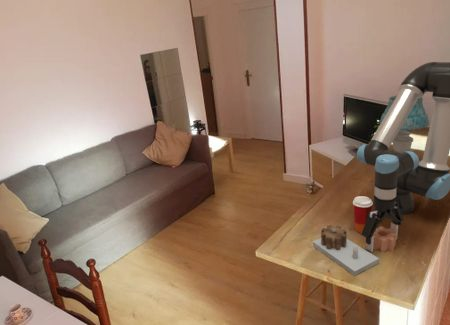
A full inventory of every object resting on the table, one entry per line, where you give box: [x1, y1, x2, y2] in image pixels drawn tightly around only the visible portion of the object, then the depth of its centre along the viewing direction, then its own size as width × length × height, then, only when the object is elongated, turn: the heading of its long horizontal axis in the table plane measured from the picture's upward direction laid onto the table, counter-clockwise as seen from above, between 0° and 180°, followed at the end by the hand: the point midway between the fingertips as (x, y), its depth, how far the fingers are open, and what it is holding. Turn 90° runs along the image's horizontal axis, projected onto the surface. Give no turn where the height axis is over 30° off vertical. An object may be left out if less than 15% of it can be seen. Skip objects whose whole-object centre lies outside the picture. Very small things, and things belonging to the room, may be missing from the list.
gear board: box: [312, 237, 380, 277], centre depth 131 cm, size 12×22×7 cm, turn 27°
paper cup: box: [352, 195, 374, 233], centre depth 143 cm, size 8×8×14 cm
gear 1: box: [320, 225, 348, 250], centre depth 135 cm, size 10×10×6 cm
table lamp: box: [379, 95, 430, 153], centre depth 190 cm, size 24×24×40 cm
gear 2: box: [373, 225, 398, 253], centre depth 134 cm, size 10×10×5 cm
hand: (381, 243), depth 135 cm, fingers open, 13 cm apart
